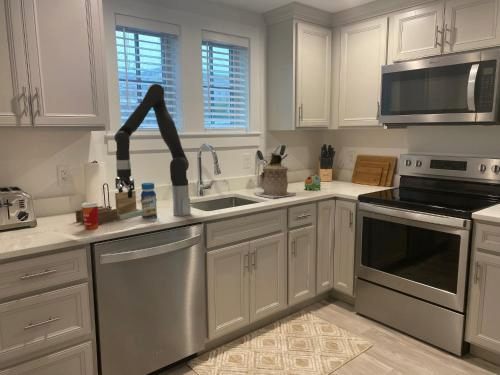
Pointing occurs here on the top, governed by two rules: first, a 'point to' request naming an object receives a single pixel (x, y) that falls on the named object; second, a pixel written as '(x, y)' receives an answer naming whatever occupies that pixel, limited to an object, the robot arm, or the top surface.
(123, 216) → the tray
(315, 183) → the turtle holder
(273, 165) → the utensil crock
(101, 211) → the offcut
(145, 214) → the beverage bottle
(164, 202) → the top surface
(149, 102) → the robot arm
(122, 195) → the wood grain block
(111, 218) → the rack
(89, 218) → the paper cup
